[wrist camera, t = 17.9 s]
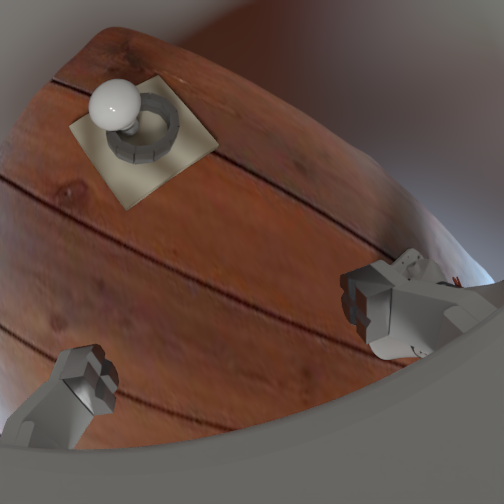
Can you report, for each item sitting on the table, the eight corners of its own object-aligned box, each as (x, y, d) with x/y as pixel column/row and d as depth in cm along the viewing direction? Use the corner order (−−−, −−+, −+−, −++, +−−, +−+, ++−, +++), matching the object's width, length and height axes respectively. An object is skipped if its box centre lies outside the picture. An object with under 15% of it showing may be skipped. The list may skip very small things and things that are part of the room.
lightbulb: (159, 112, 36) (142, 70, 25) (145, 153, 36) (121, 120, 25) (119, 107, 36) (93, 68, 25) (104, 147, 35) (72, 116, 25)
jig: (157, 79, 40) (160, 63, 36) (216, 148, 42) (224, 134, 38) (70, 130, 34) (65, 115, 30) (126, 211, 36) (124, 201, 32)
